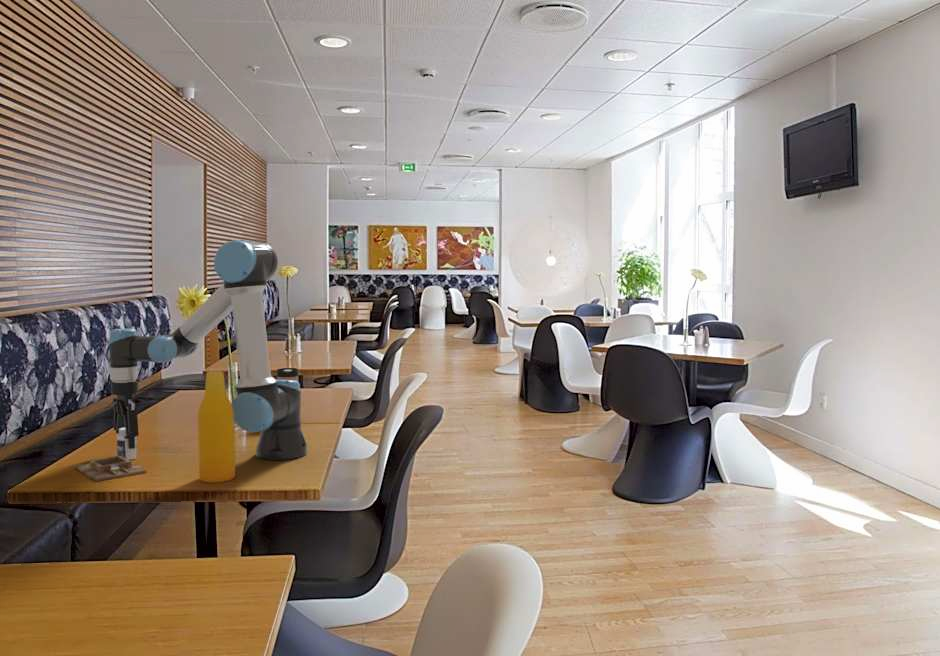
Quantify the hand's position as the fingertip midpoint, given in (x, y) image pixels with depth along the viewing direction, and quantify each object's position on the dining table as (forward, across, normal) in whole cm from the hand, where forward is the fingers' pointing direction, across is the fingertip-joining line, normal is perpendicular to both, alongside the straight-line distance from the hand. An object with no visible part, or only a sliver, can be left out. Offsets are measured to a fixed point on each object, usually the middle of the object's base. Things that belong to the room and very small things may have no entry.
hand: (126, 456), depth 227 cm
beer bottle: (0, -40, -10) cm, 41 cm away
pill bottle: (0, 0, 0) cm, 0 cm away
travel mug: (0, +12, -61) cm, 62 cm away
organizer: (0, -12, +8) cm, 15 cm away
